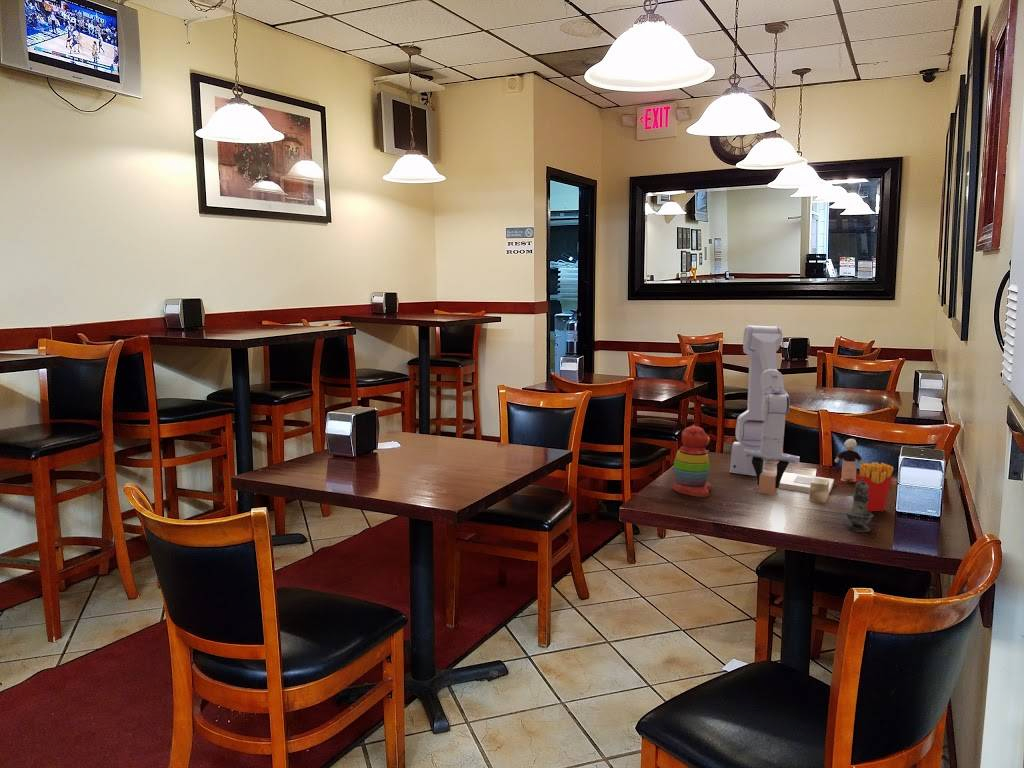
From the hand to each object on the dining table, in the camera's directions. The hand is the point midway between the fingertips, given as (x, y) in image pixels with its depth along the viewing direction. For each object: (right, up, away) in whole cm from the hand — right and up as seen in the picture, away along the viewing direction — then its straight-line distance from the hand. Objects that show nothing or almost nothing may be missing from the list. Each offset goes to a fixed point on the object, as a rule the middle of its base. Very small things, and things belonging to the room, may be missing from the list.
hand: (768, 486), depth 211 cm
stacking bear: (-22, -1, -2) cm, 22 cm away
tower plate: (+13, -1, +7) cm, 14 cm away
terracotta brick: (0, -1, 0) cm, 1 cm away
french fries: (+22, -4, -13) cm, 26 cm away
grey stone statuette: (+11, -6, -29) cm, 32 cm away
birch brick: (+11, -3, -6) cm, 13 cm away
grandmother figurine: (+28, -1, +14) cm, 31 cm away
